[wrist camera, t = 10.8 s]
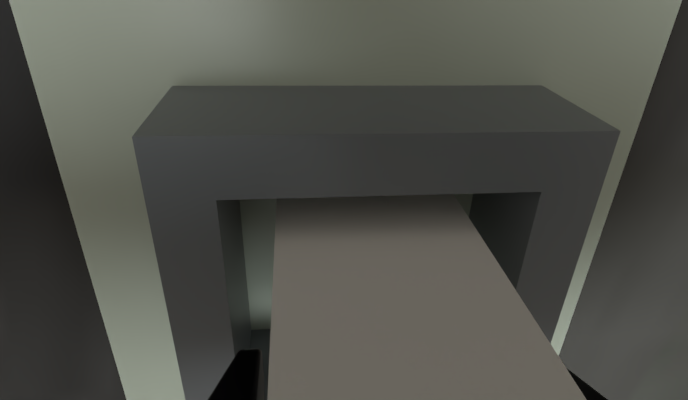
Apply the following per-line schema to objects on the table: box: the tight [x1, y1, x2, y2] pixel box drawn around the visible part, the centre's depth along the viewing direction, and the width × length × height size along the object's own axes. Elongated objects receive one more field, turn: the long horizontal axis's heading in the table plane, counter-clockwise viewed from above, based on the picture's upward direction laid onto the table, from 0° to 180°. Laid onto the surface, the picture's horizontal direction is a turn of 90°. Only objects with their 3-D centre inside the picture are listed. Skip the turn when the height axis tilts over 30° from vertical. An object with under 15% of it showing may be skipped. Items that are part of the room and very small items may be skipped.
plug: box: [267, 194, 587, 400], centre depth 9 cm, size 4×4×8 cm
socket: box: [9, 0, 682, 400], centre depth 12 cm, size 14×14×4 cm
